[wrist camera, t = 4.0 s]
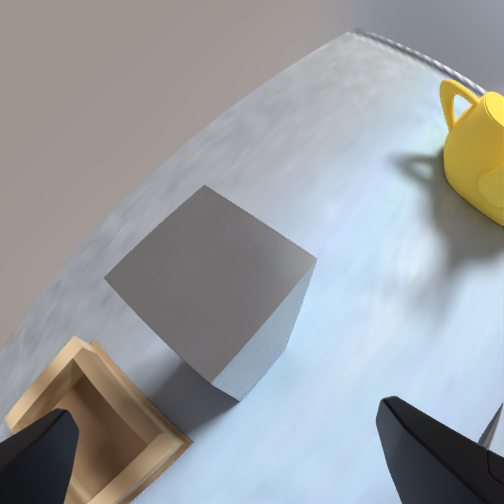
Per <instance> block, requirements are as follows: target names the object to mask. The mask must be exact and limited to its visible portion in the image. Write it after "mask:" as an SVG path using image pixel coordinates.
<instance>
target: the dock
mask: <svg viewBox="0 0 504 504" xmlns="http://www.w3.org/2000/svg"><path fill="white" fill-rule="evenodd" d="M55 408H61V409H67V410H68V411H69V412H70V413H71V415H72V417H73V419H74V420H75V422H76V424H77V426H78V428H79V439H78V444H77V449H76V455H75V460H74V466H73V471H72V475H71V479H70V483H69V486H68V490H67V494H66V497H65V501H64V504H129V503H130V502H131V501H132V500H133V499H134V498H136V497H137V496H138V495H139V494H140V493H141V492H142V491H143V490H144V489H146V488H147V487H148V486H149V485H150V484H151V483H152V482H153V481H154V480H155V479H156V478H157V477H158V476H160V475H161V474H162V473H163V472H164V471H165V470H166V469H167V468H168V467H169V466H170V465H171V464H172V463H173V462H174V461H175V460H176V459H177V458H178V457H179V456H180V455H181V454H182V453H183V452H184V451H185V450H186V449H187V448H188V447H189V446H190V445H191V444H192V443H193V441H192V440H191V439H189V438H188V437H187V436H186V435H185V434H184V433H183V432H182V431H180V430H179V429H178V428H177V427H176V426H175V425H174V424H173V423H172V422H171V421H170V420H168V419H167V418H166V417H165V416H164V415H163V414H162V413H161V412H160V411H159V410H158V409H157V408H156V407H155V406H154V405H153V404H152V403H151V402H150V401H149V400H148V399H147V398H146V397H145V396H144V395H143V394H142V393H141V392H140V391H139V390H138V389H137V387H136V386H135V385H134V384H133V383H132V382H131V381H130V380H129V379H128V378H127V377H126V376H125V374H124V373H123V372H122V371H121V370H120V369H119V368H118V367H117V365H116V364H115V363H114V362H113V361H112V360H111V358H110V357H109V356H108V355H107V354H106V353H105V351H104V350H103V349H102V348H101V346H100V345H99V344H98V343H97V342H96V341H94V340H92V342H91V343H90V344H88V343H87V342H85V341H83V340H81V339H79V338H77V337H75V336H74V337H73V338H72V339H71V340H70V341H69V342H68V343H67V345H66V346H65V347H64V348H63V349H62V350H61V351H60V352H59V353H58V355H57V356H56V357H55V358H54V359H53V360H52V361H51V363H50V364H49V365H48V366H47V367H46V368H45V370H44V371H43V372H42V373H41V374H40V375H39V377H38V378H37V379H36V380H35V381H34V382H33V384H32V385H31V386H30V387H29V388H28V390H27V391H26V392H25V393H24V395H23V396H22V397H21V398H20V399H19V401H18V402H17V403H16V404H15V406H14V407H13V408H12V410H11V411H10V412H9V413H8V415H7V416H6V417H5V418H4V419H5V421H6V423H7V425H8V426H9V428H10V430H11V432H12V433H13V435H14V434H16V433H17V432H19V431H21V430H22V429H24V428H25V427H27V426H29V425H30V424H32V423H33V422H35V421H36V420H38V419H40V418H41V417H43V416H44V415H46V414H47V413H49V412H51V411H52V410H54V409H55Z"/></svg>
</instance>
